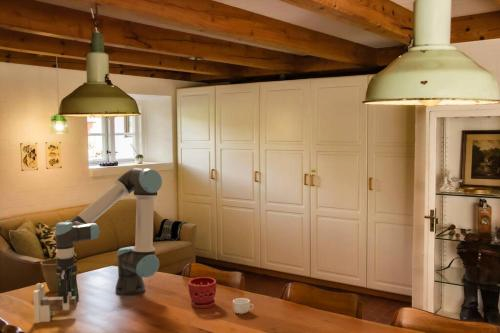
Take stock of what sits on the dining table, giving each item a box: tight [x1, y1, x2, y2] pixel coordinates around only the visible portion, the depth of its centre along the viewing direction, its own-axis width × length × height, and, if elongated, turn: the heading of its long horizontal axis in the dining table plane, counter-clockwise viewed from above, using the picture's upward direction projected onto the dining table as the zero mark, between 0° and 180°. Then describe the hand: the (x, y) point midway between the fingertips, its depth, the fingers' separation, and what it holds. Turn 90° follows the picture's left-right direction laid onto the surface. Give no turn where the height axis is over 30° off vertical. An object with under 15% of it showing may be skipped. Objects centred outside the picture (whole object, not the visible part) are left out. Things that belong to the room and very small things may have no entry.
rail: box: [41, 296, 78, 312], centre depth 228 cm, size 14×4×5 cm, turn 97°
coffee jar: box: [56, 263, 80, 301], centre depth 251 cm, size 10×8×19 cm
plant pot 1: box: [40, 257, 58, 294], centre depth 268 cm, size 15×15×16 cm
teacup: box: [232, 297, 255, 315], centre depth 230 cm, size 10×8×5 cm
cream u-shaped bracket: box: [32, 282, 55, 324], centre depth 227 cm, size 6×10×16 cm, turn 7°
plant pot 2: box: [187, 276, 217, 309], centre depth 240 cm, size 13×13×12 cm
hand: (67, 307), depth 229 cm, fingers closed on rail, 4 cm apart
